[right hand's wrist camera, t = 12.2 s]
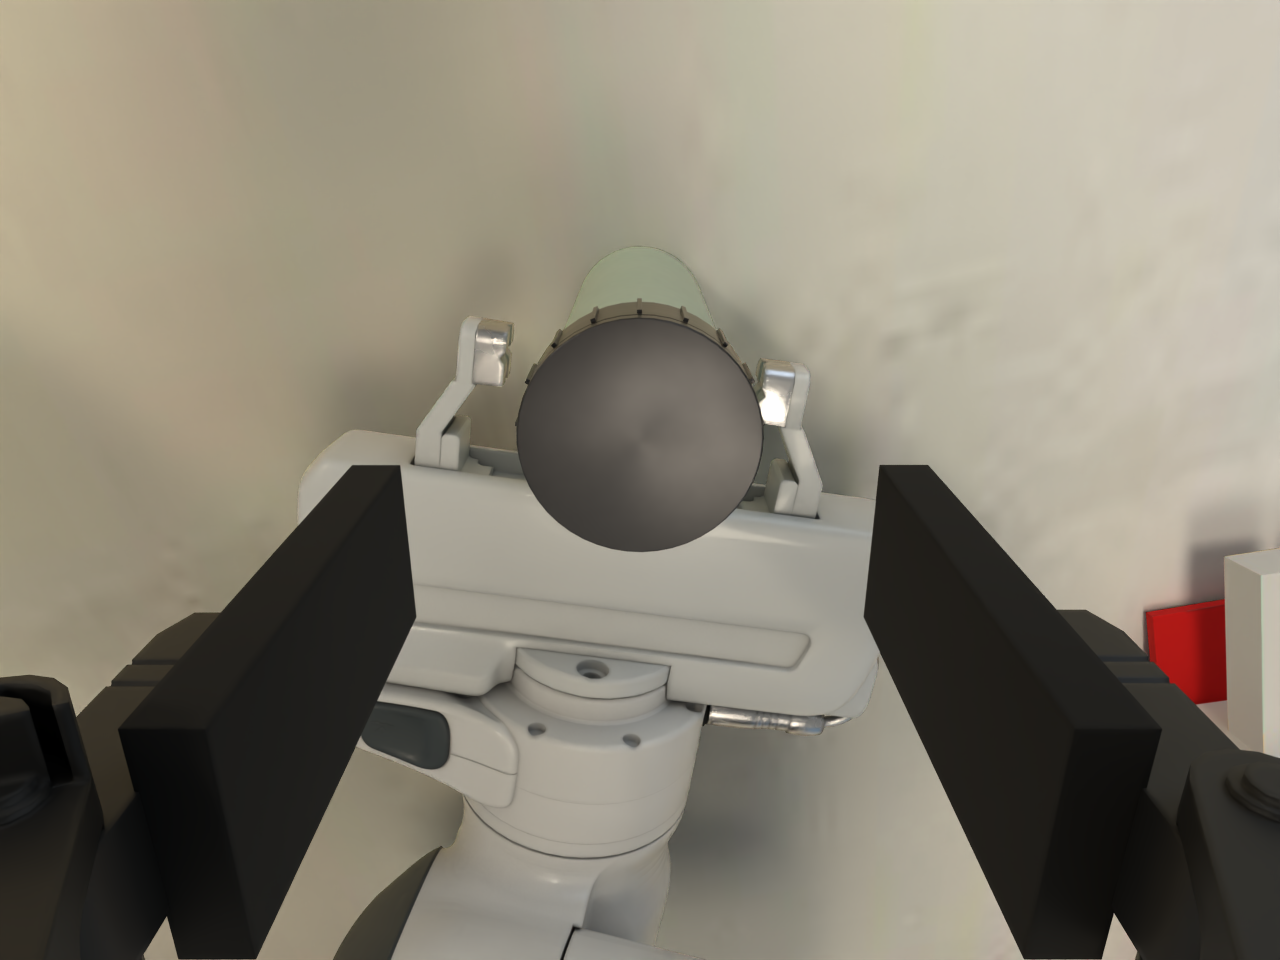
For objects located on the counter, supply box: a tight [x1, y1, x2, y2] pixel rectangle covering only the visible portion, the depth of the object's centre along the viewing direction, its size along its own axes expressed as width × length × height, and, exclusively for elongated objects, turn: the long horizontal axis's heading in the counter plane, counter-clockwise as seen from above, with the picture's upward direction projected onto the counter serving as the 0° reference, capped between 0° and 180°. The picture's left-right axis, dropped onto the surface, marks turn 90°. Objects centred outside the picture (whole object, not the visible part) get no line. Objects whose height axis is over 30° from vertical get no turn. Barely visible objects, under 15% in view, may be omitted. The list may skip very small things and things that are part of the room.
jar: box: [564, 246, 716, 330], centre depth 26 cm, size 5×5×15 cm
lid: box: [515, 298, 765, 552], centre depth 20 cm, size 6×6×2 cm
